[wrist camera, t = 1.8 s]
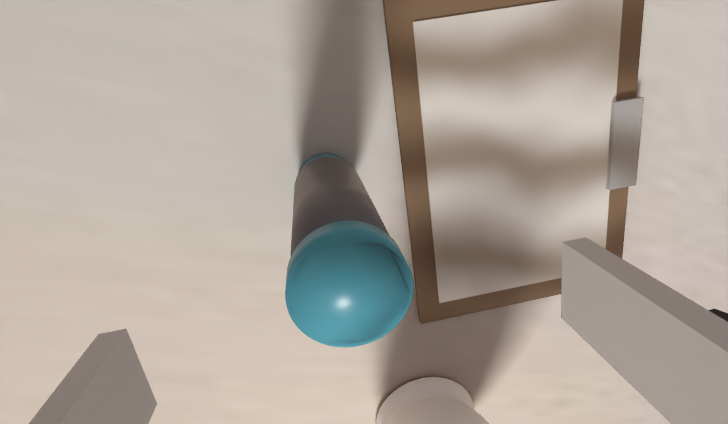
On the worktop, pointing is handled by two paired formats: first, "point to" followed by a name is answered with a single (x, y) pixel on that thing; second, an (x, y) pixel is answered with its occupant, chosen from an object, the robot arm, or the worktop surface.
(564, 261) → the robot arm
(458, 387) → the jar
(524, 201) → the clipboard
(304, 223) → the grey and teal cylinder
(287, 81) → the worktop surface
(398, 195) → the worktop surface
